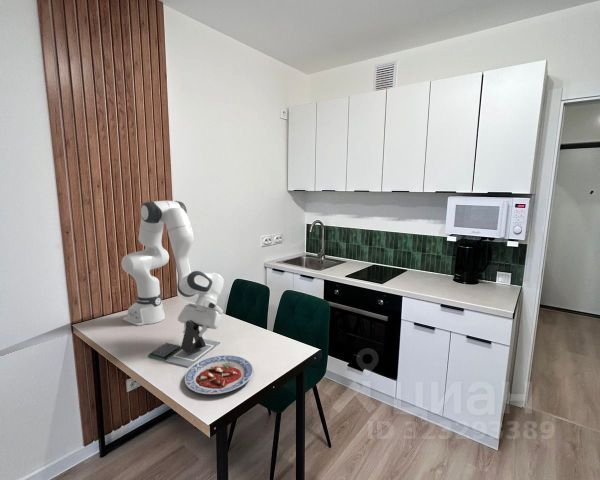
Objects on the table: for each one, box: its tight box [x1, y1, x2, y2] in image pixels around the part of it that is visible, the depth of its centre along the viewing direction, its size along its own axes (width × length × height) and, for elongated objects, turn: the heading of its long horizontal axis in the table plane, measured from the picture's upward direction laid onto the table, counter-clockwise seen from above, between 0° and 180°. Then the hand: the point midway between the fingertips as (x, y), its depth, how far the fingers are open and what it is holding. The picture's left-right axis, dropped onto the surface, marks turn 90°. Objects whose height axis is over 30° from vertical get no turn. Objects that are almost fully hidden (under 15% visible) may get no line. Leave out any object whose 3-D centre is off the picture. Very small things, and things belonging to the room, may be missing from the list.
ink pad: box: [147, 342, 182, 362], centre depth 146 cm, size 9×11×2 cm
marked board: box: [164, 338, 221, 369], centre depth 147 cm, size 12×22×1 cm, turn 159°
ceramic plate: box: [184, 354, 254, 395], centre depth 128 cm, size 26×26×3 cm
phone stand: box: [180, 320, 206, 353], centre depth 145 cm, size 9×6×12 cm, turn 136°
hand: (191, 334), depth 145 cm, fingers closed on phone stand, 6 cm apart
